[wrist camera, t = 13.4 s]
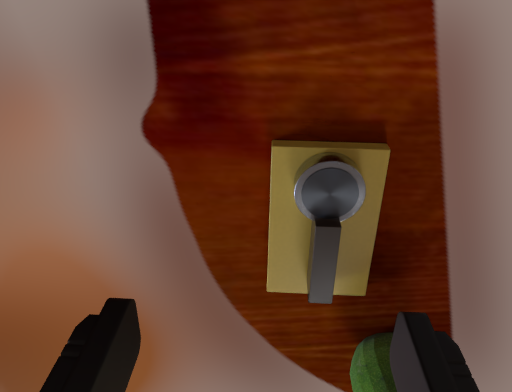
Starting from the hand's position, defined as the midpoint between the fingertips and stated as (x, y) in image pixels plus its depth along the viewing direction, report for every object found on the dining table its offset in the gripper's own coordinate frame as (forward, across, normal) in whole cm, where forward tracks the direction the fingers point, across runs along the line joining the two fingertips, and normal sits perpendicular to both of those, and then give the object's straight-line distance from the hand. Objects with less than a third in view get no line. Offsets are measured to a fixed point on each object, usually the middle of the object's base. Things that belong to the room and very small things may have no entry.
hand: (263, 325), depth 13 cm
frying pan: (+25, -5, +11) cm, 28 cm away
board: (+26, -5, +12) cm, 29 cm away
